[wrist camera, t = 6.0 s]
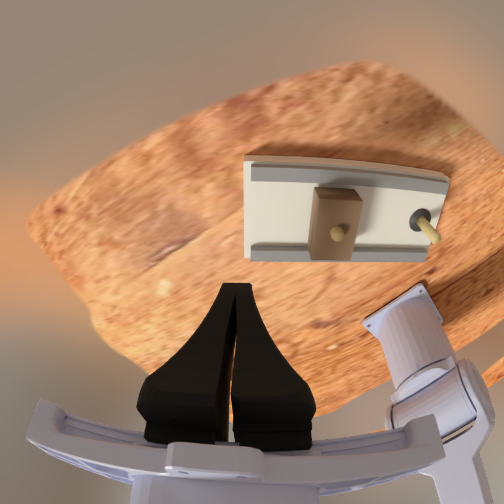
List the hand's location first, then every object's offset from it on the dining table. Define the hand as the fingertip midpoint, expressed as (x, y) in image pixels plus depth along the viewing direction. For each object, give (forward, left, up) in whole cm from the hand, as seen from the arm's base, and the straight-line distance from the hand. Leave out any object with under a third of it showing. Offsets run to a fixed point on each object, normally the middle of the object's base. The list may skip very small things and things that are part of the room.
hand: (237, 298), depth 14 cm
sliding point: (-4, -5, -8) cm, 11 cm away
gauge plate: (-6, -6, -10) cm, 14 cm away
